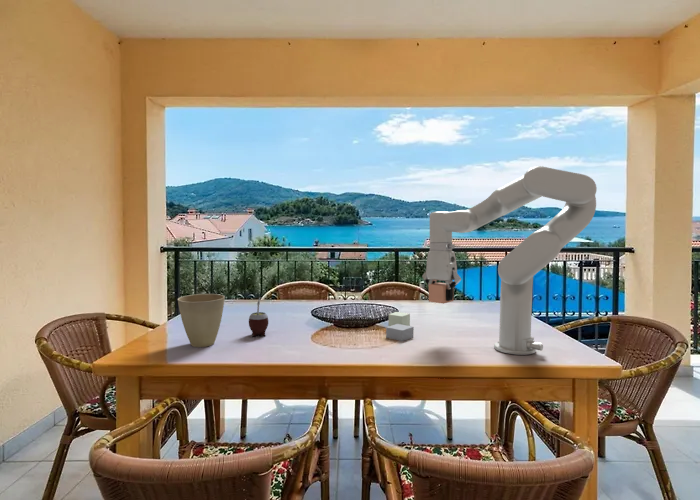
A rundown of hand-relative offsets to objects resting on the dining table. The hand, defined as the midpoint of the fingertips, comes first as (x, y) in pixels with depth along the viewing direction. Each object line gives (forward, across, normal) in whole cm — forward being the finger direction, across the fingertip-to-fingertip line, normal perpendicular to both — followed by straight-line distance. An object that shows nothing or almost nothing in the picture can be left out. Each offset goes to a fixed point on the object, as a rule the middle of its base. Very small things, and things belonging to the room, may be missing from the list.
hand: (441, 298), depth 149 cm
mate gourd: (+14, +49, +43) cm, 67 cm away
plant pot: (+13, +52, +63) cm, 83 cm away
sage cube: (+14, +21, -2) cm, 25 cm away
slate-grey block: (+15, +13, +7) cm, 21 cm away
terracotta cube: (+1, 0, 0) cm, 1 cm away
